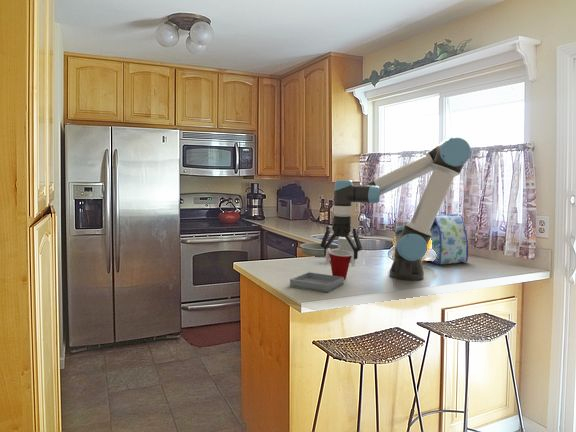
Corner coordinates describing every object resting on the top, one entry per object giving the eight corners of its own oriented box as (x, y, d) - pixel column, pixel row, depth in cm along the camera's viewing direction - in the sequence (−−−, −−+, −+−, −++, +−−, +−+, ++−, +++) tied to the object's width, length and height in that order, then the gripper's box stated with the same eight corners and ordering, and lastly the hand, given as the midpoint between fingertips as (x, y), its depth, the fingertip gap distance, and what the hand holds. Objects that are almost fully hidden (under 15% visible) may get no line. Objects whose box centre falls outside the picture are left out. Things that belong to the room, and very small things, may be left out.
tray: (343, 284, 188) (343, 277, 187) (327, 292, 173) (327, 285, 173) (308, 278, 195) (308, 272, 195) (289, 286, 181) (290, 279, 181)
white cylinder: (342, 258, 246) (343, 236, 245) (358, 260, 241) (359, 238, 240) (333, 260, 239) (334, 237, 237) (349, 263, 233) (350, 239, 232)
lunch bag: (444, 258, 256) (447, 212, 254) (469, 263, 242) (472, 215, 240) (417, 260, 245) (419, 213, 243) (441, 266, 231) (444, 216, 228)
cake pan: (350, 254, 261) (350, 246, 261) (322, 259, 244) (322, 250, 243) (318, 248, 278) (319, 241, 278) (290, 252, 261) (290, 244, 261)
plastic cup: (344, 282, 190) (345, 254, 189) (322, 278, 197) (323, 251, 196) (356, 278, 199) (357, 251, 198) (335, 274, 205) (336, 248, 204)
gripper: (371, 216, 193) (368, 266, 195) (320, 213, 204) (319, 260, 206) (365, 218, 186) (363, 269, 188) (313, 214, 197) (312, 262, 199)
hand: (340, 264), depth 197 cm, fingers open, 11 cm apart
